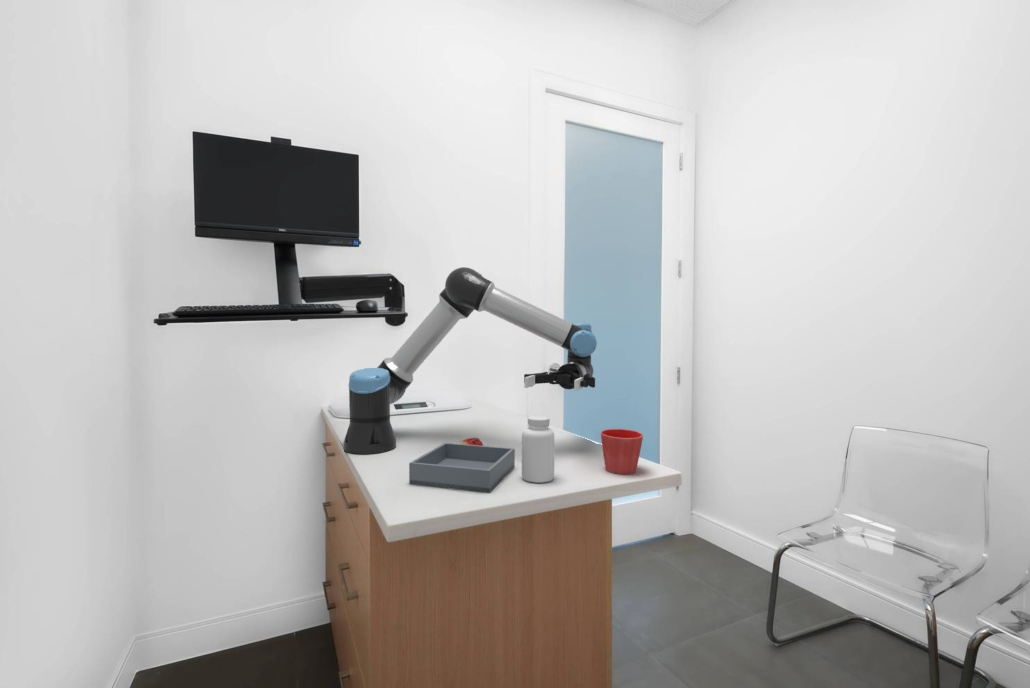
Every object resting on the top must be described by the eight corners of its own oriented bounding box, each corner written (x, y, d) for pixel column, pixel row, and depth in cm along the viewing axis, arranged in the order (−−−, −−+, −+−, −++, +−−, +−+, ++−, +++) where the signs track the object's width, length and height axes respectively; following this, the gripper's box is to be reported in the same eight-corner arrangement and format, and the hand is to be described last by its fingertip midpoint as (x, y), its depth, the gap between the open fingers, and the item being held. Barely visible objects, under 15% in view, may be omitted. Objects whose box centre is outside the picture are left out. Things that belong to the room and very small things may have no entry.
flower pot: (636, 464, 134) (637, 428, 134) (646, 476, 123) (647, 438, 123) (597, 463, 134) (597, 428, 134) (603, 476, 124) (604, 437, 123)
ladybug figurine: (451, 453, 144) (451, 441, 144) (470, 446, 153) (470, 434, 153) (470, 457, 141) (470, 444, 141) (488, 449, 150) (488, 437, 149)
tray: (409, 483, 117) (409, 463, 117) (444, 460, 136) (444, 442, 136) (489, 492, 111) (489, 470, 111) (514, 467, 131) (514, 448, 130)
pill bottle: (554, 473, 125) (555, 414, 125) (553, 484, 117) (554, 421, 117) (523, 472, 126) (523, 414, 125) (520, 483, 118) (520, 420, 117)
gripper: (612, 390, 145) (597, 401, 125) (532, 385, 154) (506, 395, 134) (613, 364, 145) (597, 371, 125) (532, 361, 154) (506, 367, 134)
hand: (550, 384), depth 130 cm, fingers open, 13 cm apart
